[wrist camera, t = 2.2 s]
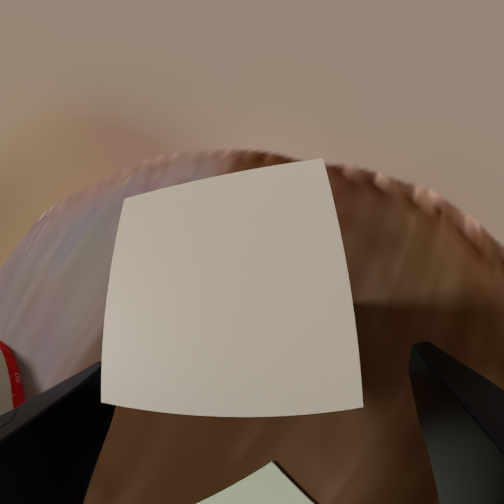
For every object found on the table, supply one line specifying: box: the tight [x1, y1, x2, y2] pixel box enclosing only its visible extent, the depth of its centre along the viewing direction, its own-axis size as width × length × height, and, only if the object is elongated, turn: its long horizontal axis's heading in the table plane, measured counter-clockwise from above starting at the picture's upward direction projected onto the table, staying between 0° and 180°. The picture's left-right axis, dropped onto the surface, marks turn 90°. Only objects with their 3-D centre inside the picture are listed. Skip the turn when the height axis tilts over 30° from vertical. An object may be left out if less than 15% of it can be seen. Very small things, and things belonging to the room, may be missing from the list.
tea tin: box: [101, 159, 363, 417], centre depth 11 cm, size 5×5×12 cm
